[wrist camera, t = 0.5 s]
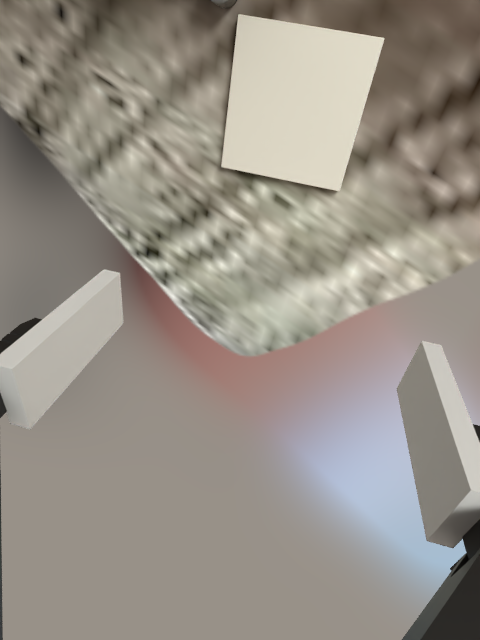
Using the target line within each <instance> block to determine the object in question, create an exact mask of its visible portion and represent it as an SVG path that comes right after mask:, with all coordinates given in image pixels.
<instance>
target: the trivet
mask: <svg viewBox="0 0 480 640" xmlns="http://www.w3.org/2000/svg"><path fill="white" fill-rule="evenodd" d="M383 42H384V38H381V37H374V36H368V35H362V34H356V33H350V32H344V31H338V30H332V29H326V28H320V27H314V26H308V25H301V24H295V23H289V22H283V21H277V20H271V19H265V18H259V17H253V16H247V15H241V14H238V22H237V31H236V40H235V49H234V58H233V67H232V76H231V85H230V94H229V103H228V111H227V120H226V129H225V138H224V147H223V156H222V165H221V167H224V168H229V169H234V170H239V171H243V172H248V173H253V174H258V175H263V176H268V177H273V178H277V179H282V180H287V181H292V182H297V183H302V184H306V185H311V186H316V187H321V188H326V189H331V190H335V191H340V188H341V184H342V181H343V178H344V174H345V171H346V167H347V164H348V161H349V157H350V154H351V150H352V147H353V144H354V140H355V137H356V133H357V130H358V127H359V123H360V120H361V116H362V113H363V110H364V106H365V103H366V99H367V96H368V93H369V89H370V86H371V82H372V79H373V76H374V72H375V69H376V65H377V62H378V59H379V55H380V52H381V48H382V45H383Z"/></svg>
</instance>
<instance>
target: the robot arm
mask: <svg viewBox="0 0 480 640" xmlns="http://www.w3.org/2000/svg"><path fill="white" fill-rule="evenodd" d="M120 282H121V281H120V273H117V272H113V271H108V270H103V271H101V272H100V273H99V274H98V275H96V276H95V277H94V278H93V279H92V280H90V281H89V282H88V283H87V284H85V285H84V286H83V287H82V288H81V289H79V290H78V291H77V292H76V293H74V294H73V295H72V296H71V297H69V298H68V299H67V300H66V301H65V302H63V303H62V304H61V305H60V306H58V307H57V308H56V309H55V310H54V311H52V312H51V313H50V314H49V315H47V316H46V317H45V318H44V319H37V318H34V319H32V320H29V321H27V322H25V323H22V324H20V325H19V326H18V327H17V328H15V329H14V330H13V331H12V332H11V333H10V334H7V335H6V336H5V337H4V338H3V339H2V340H1V341H0V418H1V417H2V416H3V415H4V414H5V413H7V416H8V419H9V422H10V424H14V425H17V426H21V427H24V428H27V429H31V428H32V427H33V426H34V425H35V424H36V422H37V421H38V420H39V419H40V418H41V417H42V416H43V414H44V413H45V412H46V411H47V410H48V409H49V407H50V406H51V405H52V404H53V403H54V402H55V401H56V400H57V398H58V397H59V396H60V395H61V394H62V393H63V392H64V390H65V389H66V388H67V387H68V386H69V385H70V384H71V382H72V381H73V380H74V379H75V378H76V377H77V376H78V374H79V373H80V372H81V371H82V370H83V369H84V367H85V366H86V365H87V364H88V363H89V362H90V361H91V360H92V358H93V357H94V356H95V355H96V354H97V353H98V352H99V350H100V349H101V348H102V347H103V346H104V345H105V344H106V342H107V341H108V340H109V339H110V338H111V337H112V336H113V334H114V333H115V332H116V331H117V330H118V329H119V328H120V326H121V325H122V324H123V311H122V298H121V297H122V296H121V283H120ZM397 393H398V398H399V403H400V408H401V413H402V418H403V423H404V428H405V433H406V438H407V443H408V448H409V454H410V459H411V464H412V468H413V473H414V479H415V484H416V489H417V494H418V499H419V504H420V509H421V514H422V519H423V524H424V529H425V534H426V539H427V541H429V542H433V543H436V544H440V545H443V546H447V547H450V548H454V547H455V546H456V545H457V544H458V543H459V542H460V541H461V540H462V539H463V541H464V545H465V549H466V552H467V553H466V554H465V555H464V556H463V557H462V558H461V559H460V560H458V562H456V563H455V564H454V565H453V566H452V567H451V568H450V569H451V570H452V571H451V573H450V574H449V576H448V577H447V578H446V580H445V581H444V583H443V584H442V585H441V587H440V588H439V590H438V591H437V592H436V593H435V595H434V596H433V598H432V599H431V600H430V602H429V603H428V604H427V606H426V607H425V609H424V610H423V611H422V613H421V614H420V615H419V617H418V618H417V620H416V621H415V622H414V624H413V625H412V626H411V628H410V629H409V631H408V632H407V633H406V635H405V636H404V637H403V639H402V640H480V426H478V425H474V424H472V422H471V419H470V417H469V414H468V412H467V409H466V407H465V404H464V402H463V399H462V397H461V394H460V392H459V389H458V387H457V384H456V382H455V379H454V377H453V374H452V371H451V369H450V366H449V364H448V361H447V359H446V357H445V354H444V351H443V349H442V346H441V345H438V344H434V343H429V342H425V341H421V343H420V345H419V347H418V349H417V351H416V353H415V355H414V357H413V359H412V360H411V362H410V364H409V366H408V368H407V370H406V372H405V374H404V376H403V378H402V380H401V382H400V384H399V386H398V388H397ZM1 558H2V555H1V474H0V640H3V638H2V559H1Z"/></svg>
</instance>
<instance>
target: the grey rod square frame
mask: <svg viewBox="0 0 480 640" xmlns="http://www.w3.org/2000/svg"><path fill="white" fill-rule="evenodd" d="M211 1H212V2H214V3H215V4H216V5H218V6H219V7H221V8H230V7H232V6H233V5H234V4H235V3H236V1H237V0H211Z"/></svg>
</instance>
